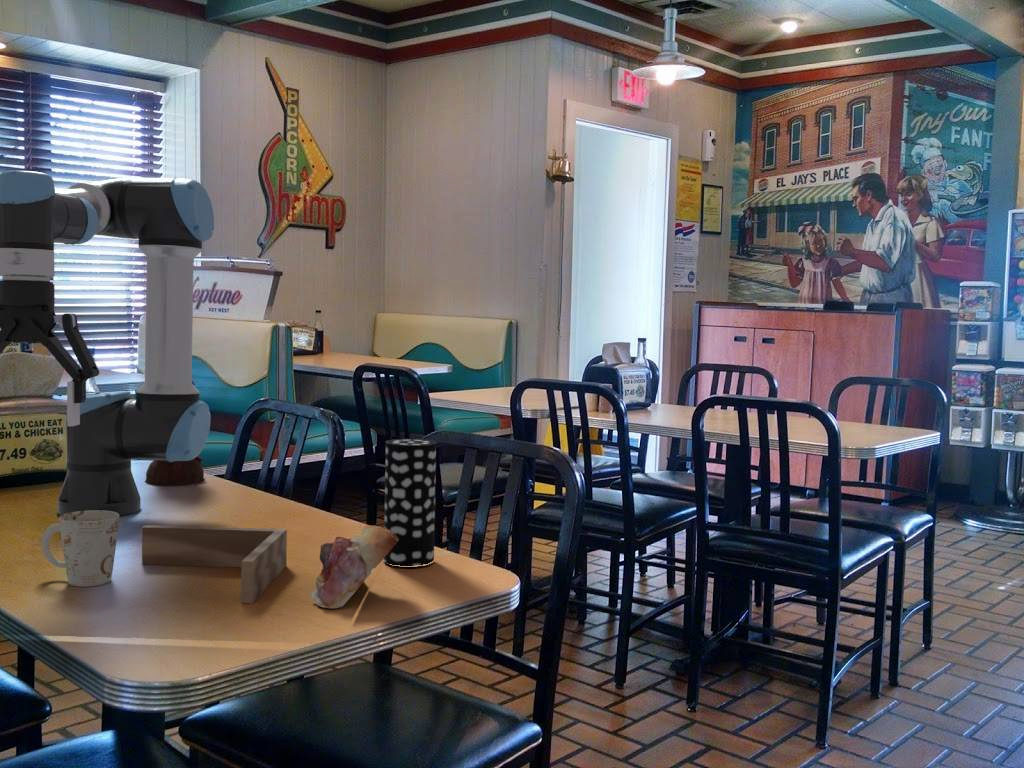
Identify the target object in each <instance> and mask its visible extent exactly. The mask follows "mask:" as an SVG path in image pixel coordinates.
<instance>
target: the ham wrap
mask: <svg viewBox="0 0 1024 768" xmlns="http://www.w3.org/2000/svg"><path fill="white" fill-rule="evenodd" d="M361 532H362V535H361V536H354V537H351V538H346V537H341V536H336V537H335V539H334V541H333V542H330V543H329V542H326V543H323V544H321V545H320V552H319V562H321V564H322V569H321V571H320V574H319V575H318V576H316V578H315V589H314V590H313V591H312V592H311V594H310V595H311V598H312V599H313V600H314V601H315V602H313V603H312V604H313V605H317V607H322V608H325V609H326V608H327V609H338V608H342V607H344V605H346V603H347V602H348V601H349V600H350V599H351V598H352V596H353V595H354V594H355V593H356V592H357V590H358V589H359V588H360V587H361V585H362V584H363V583H364V582H365V581H366V580H367V579H368V578H369V576H370V575H371V574H372V570H373V569H375V568H377V566H379V565H380V564H381V562H382V561H384V558H385V556H386V555H387V554H388V553H389V552H390V550H391V549H392V548H393V547H394V546H395V544H396V543H397V542H398V540H399V538H398V537H397V536H396V535H395V534H394V533H393V531H392V530H389V529H387V528H384V526H379V525H365V526H364V527H363V528H362V531H361Z"/></svg>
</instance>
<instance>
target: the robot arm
mask: <svg viewBox="0 0 1024 768" xmlns="http://www.w3.org/2000/svg"><path fill="white" fill-rule="evenodd" d="M214 215H215V213H214V208H213V204H212V201H211V198H210V196H209V194H208V191H207V190H206V188H205V187H204V185H203V184H202V183H200V182H199V181H197V180H195V179H189V178H180V177H116V178H108V179H104V180H103V179H102V180H97V181H96V180H95V181H92V182H91V181H89V182H80V183H76V184H73V185H71V186H69V187H68V188H65V189H64V188H63V189H61V188H59V189H55V182H54V179H53V177H52V175H50V174H48V173H44V172H41V171H40V172H39V171H32V170H31V171H30V170H5V171H3V172H0V277H1V280H0V355H1V354H2V353H3V352H4V351H5V349H6V348H7V347H8V346H10V344H12V343H13V344H21V343H27V344H41V345H42V346H43V347H45V348H46V349H47V351H49V353H50V354H51V355H52V356H53V358H55V360H56V361H57V362H58V364H59V365H60V366H61V367H62V368H63V370H64V371H65V372H66V373H67V374H68V376H69V377H70V378H71V380H70V381H66V395H67V396H66V417H65V424H66V425H65V426H66V475H65V478H64V482H63V484H62V487H61V491H60V493H59V495H58V499H57V505H56V506H57V507H56V508H57V514H58V515H59V516H61V515H64V514H67V513H71V512H77V511H88V510H105V511H113V512H117V513H118V514H119V517H121V516H126V515H132V514H135V513H138V512H139V511H141V507H142V505H141V496H140V492H139V490H138V487H137V484H136V482H135V478H134V476H133V472H132V460H142V461H143V460H146V461H147V460H148V461H154V460H166V461H169V462H173V461H189V460H192V459H194V458H196V457H197V456H199V455H200V454H201V453H202V451H203V449H204V447H205V445H206V444H207V441H208V439H209V438H208V437H209V434H210V430H211V429H210V428H211V423H212V422H211V419H212V418H211V412H210V407H209V405H208V404H207V402H205V401H203V400H200V390H199V389H198V388H197V387H196V386H195V385H193V384H192V381H193V380H192V377H193V376H192V375H193V374H192V373H193V372H192V371H193V367H192V366H193V364H192V363H193V325H194V324H193V322H194V321H193V320H194V319H193V313H194V311H193V310H194V261H195V259H196V257H197V256H199V254H201V252H203V242H207V241H208V240H211V238H212V236H213V231H214V229H215V216H214ZM94 236H105V237H111V238H118V239H127V240H128V239H132V240H138V249H139V250H140V252H142V253H143V254H144V256H145V257H146V273H145V274H146V281H145V284H146V285H145V286H146V289H145V291H146V292H145V341H144V342H145V346H144V347H145V348H144V349H145V350H144V355H145V356H144V382H143V383H142V385H140V386H139V388H137V389H136V390H135V391H136V392H135V393H136V394H135V399H134V398H133V395H132V393H131V391H129V390H126V391H114V392H103V393H96V394H87V381H88V379H92V378H95V377H98V376H99V374H100V370H99V368H98V365H97V364H96V362H95V359H94V358H93V356H92V354H91V352H90V349H89V348H88V346H87V343H86V342H85V340H84V338H83V336H82V333H81V332H80V330H79V329H80V328H79V326H78V324H79V323H78V318H77V317H78V316H77V315H76V313H64V314H59V315H57V314H56V313H55V284H54V282H53V281H51V278H55V244H56V243H57V244H64V245H72V246H74V245H81V244H85V243H87V242H89V241H90V240H91V239H92V238H94ZM57 324H58V326H59V328H60V329H61V330H63V333H64V335H65V337H66V339H67V342H68V343H69V346H70V348H71V349H72V351H73V353H74V355H75V357H76V359H77V360H75V359H74V357H73V356H72V354H70V352H69V351H68V350H67V349H66V347H65V346H64V345H63V344H62V343H61V341H60V339H59V337H57V335H56V334H55V333H54V331H52V330H53V329H54V328H55V327H56V325H57ZM77 361H78V362H77Z"/></svg>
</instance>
